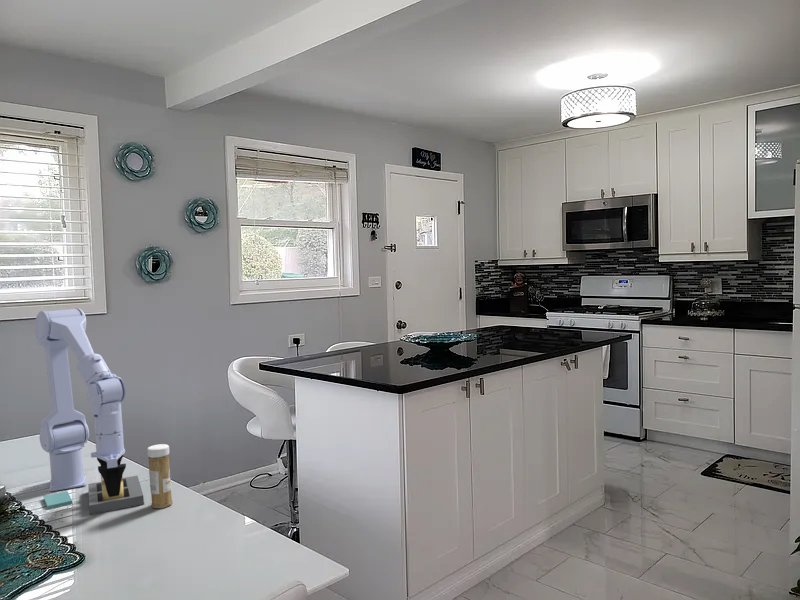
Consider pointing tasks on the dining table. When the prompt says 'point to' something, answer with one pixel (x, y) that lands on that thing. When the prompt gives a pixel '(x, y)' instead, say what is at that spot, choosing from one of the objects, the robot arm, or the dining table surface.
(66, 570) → the dining table surface
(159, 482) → the spice jar
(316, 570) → the dining table surface
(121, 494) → the beige cylinder with tab
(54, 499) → the lid plate
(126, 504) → the housing
